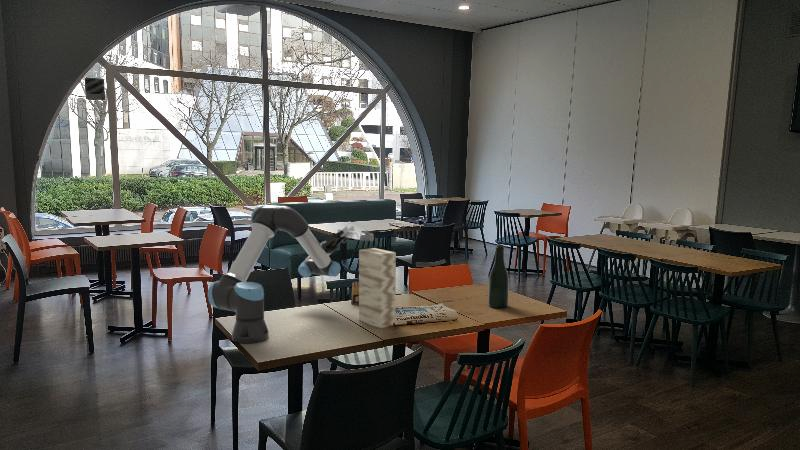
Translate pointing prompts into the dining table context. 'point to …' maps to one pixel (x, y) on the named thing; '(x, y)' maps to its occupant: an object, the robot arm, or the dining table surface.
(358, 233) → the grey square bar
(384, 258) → the stand
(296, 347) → the dining table surface
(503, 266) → the beer bottle
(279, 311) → the dining table surface
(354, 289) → the ammunition clip
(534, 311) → the dining table surface
